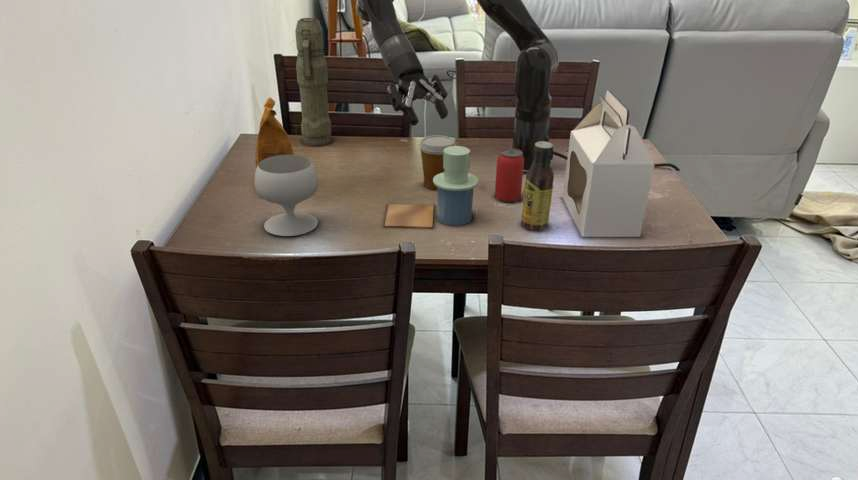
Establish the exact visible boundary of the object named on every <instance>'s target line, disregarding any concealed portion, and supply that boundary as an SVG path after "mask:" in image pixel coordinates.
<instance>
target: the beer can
mask: <svg viewBox="0 0 858 480" xmlns="http://www.w3.org/2000/svg"><path fill="white" fill-rule="evenodd" d="M523 168H524V157H523V152H522V151H521V150H518V149H514V148H512V147H507V148H503V149H501V150H499V154H498V156H497V160H496V171H495V184H494V185H495V186H494V196H495V198H496V199H497V200H499V201H501V202H505V203H513V202H516V201H519V200H520V199H521V198H522V189H523V188H522V187H523V176H524V173H523Z"/></svg>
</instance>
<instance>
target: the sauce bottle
mask: <svg viewBox="0 0 858 480" xmlns="http://www.w3.org/2000/svg"><path fill="white" fill-rule="evenodd" d="M534 151H535V152H534V160H533V163H532V165H531V167H530V169H529V171H528V173H526V175H525V179H524V188H523V189H524V190H523V196H522V197H523V198H522V208H521V217H520V219H521V226H522V227H524V228H525V229H527V230H531V231H541V230H544V229H546V228H547V226H548V222H549V219H550V211H551V204H552V196H553V190H554V178H555V173H554V170H553V167H552V166H551V163H552V160H551V154H552V151H554V144H553V143H551V142H545V141H540V142H537V143H535V146H534Z"/></svg>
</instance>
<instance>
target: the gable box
mask: <svg viewBox="0 0 858 480" xmlns="http://www.w3.org/2000/svg"><path fill="white" fill-rule="evenodd" d="M599 99H600V101H599V102H597V103H596V104H595V105H594V106H593V107H592V108H591V109H590V110H589V112H588V113H587V114H586V115H585V116H584V117H583V118H582V119H581V121H580V122H579V123H578V124H577V125H576V126H574V128H573V129H572V130H571V131H570V136H569V144H568V151H567V157H568V158H567V160H566V166H565V174H564V183H563V189H562V190H563V191H562V200H563V202H564V204H565V206H566V208H567V210H568V211H569V213H570V216H571V218H572V220H573V222H574V224H575V226H576V228H577V229H578V232H579V233H580V236H581V237H582V238H640V237H641V235H642V229H643V224H644V221H645V220H644V219H645V215H646V210H647V204H648V199H649V195H650V190H651V184H652V179H653V174H654V171H655V167H654V165H655V164H656V163H655V162H654V161H653V159H652V158H651V155H650V153H649V151H648V149H647V147H646V145H645V143H644V141H643V139H642V137H641V135H640V133H639V131H638V129H637V128H636V127H635V126H633V125H631V124H629V121H630V109H629V108H628V107H627V106H626V105H625V104H624V103H623V102H622V100H620V99H619V98H618V97H617V96H616V95H615V94H614V93H613V92H612V91H611V90H607V91H606V93H605V97H603V96H602V95H601V94H599Z"/></svg>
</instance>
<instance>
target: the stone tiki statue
mask: <svg viewBox="0 0 858 480" xmlns="http://www.w3.org/2000/svg"><path fill="white" fill-rule="evenodd" d="M294 33H295V44H296V50H297V55H296V57H297V59H296V64H295V69H296V81H297V84H298V87H299V96H300V97H299V98H300V110H301V118H302V119H301V121H300V128H301V129H300V131H301V135H302V143H303V144H304V145H306V146H311V147H319V146H320V147H321V146H325V145H329V144H330V143H332V122H331V121H332V120H331V119H330V115H329V101H328V83H329V75H328V63H327V60H326V57H325V52H324V48H325V45H324V44H325V43H324V31H323V26H322V24H321V22H320V20H319V19H317V18H314V17H304V18H299V19H298V20H297V22H296V26H295V32H294Z"/></svg>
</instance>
